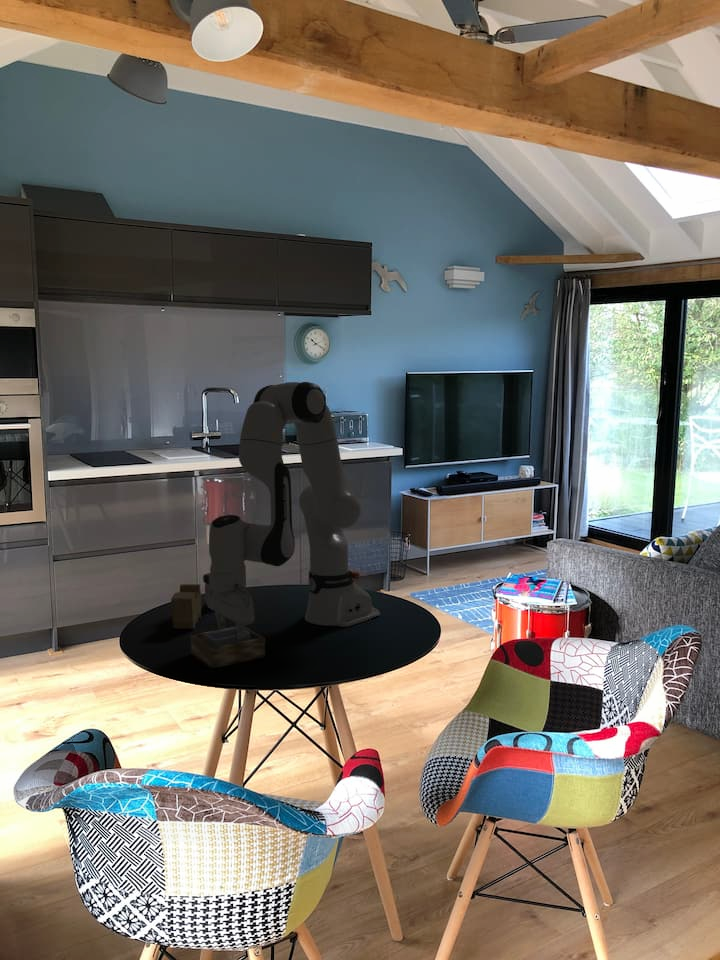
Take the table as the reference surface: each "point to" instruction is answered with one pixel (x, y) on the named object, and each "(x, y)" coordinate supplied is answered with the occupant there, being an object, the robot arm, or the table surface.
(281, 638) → the table surface
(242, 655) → the pine crate
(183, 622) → the toy train
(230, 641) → the small crate
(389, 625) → the table surface
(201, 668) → the table surface
